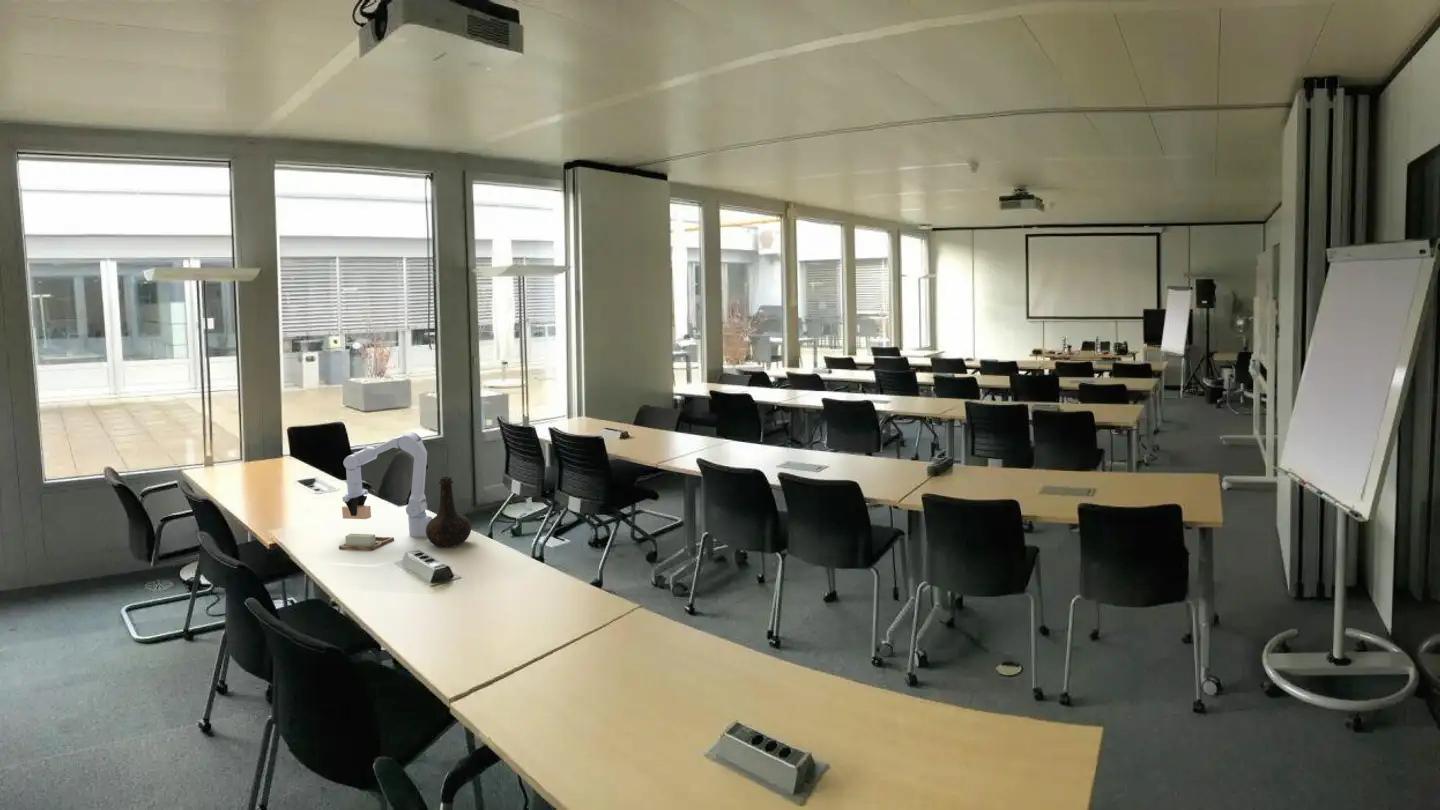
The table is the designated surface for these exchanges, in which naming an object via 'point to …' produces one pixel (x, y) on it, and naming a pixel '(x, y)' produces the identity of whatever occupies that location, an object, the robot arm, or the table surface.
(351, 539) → the grey-green block
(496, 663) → the table surface
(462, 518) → the glass bottle
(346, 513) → the peach rectangular block
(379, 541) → the rack
